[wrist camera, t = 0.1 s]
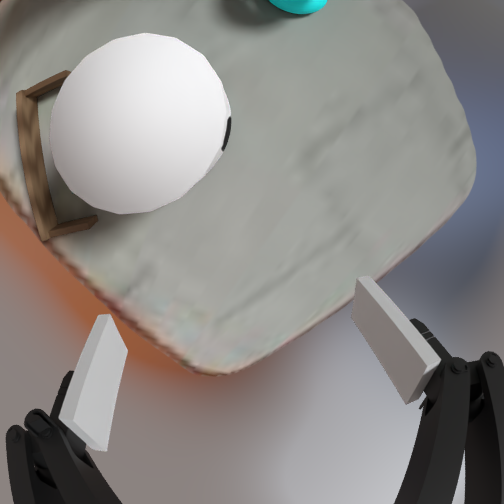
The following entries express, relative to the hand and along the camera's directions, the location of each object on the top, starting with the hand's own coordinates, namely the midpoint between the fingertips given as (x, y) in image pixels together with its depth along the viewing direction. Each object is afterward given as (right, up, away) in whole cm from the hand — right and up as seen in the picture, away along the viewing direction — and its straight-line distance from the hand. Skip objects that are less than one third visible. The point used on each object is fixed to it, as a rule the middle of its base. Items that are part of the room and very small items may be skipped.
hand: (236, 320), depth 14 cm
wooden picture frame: (-29, +18, +18) cm, 39 cm away
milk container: (-11, +21, +20) cm, 31 cm away
